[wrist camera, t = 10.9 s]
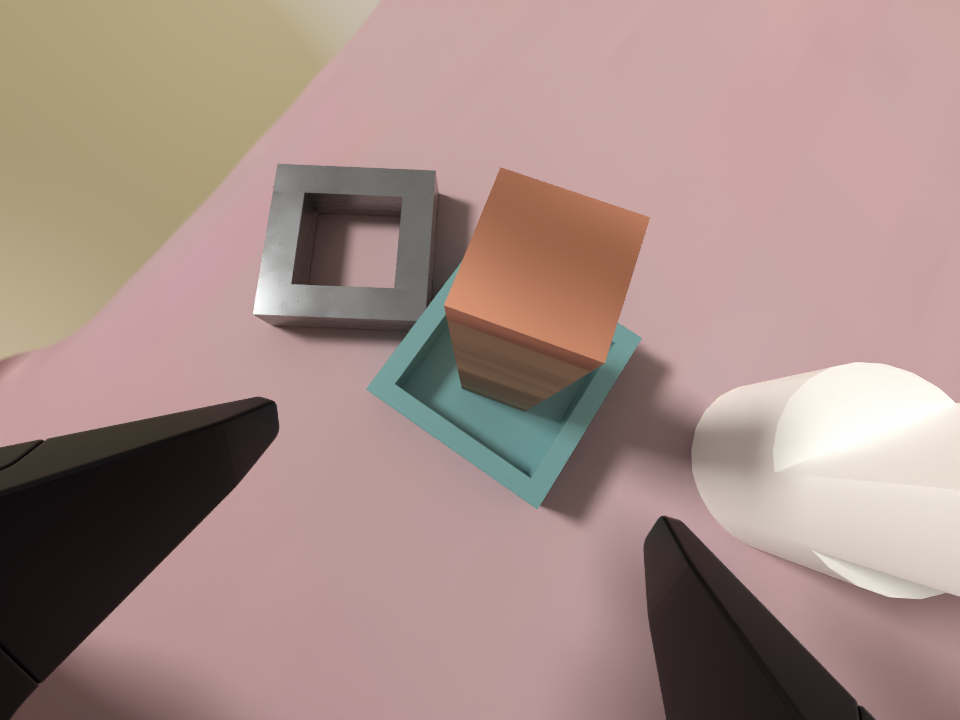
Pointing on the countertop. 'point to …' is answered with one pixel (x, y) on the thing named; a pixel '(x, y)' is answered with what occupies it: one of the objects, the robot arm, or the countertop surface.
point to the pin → (539, 289)
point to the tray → (493, 406)
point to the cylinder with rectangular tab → (840, 475)
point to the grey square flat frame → (294, 233)
